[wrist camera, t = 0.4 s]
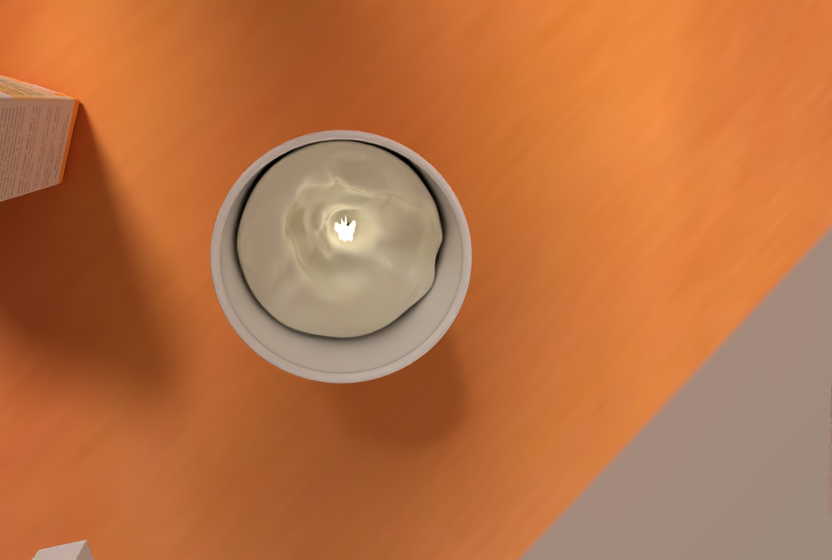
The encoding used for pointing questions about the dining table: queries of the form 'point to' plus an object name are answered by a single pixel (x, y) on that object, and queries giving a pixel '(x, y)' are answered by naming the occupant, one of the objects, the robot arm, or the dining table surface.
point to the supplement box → (33, 136)
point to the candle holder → (341, 256)
